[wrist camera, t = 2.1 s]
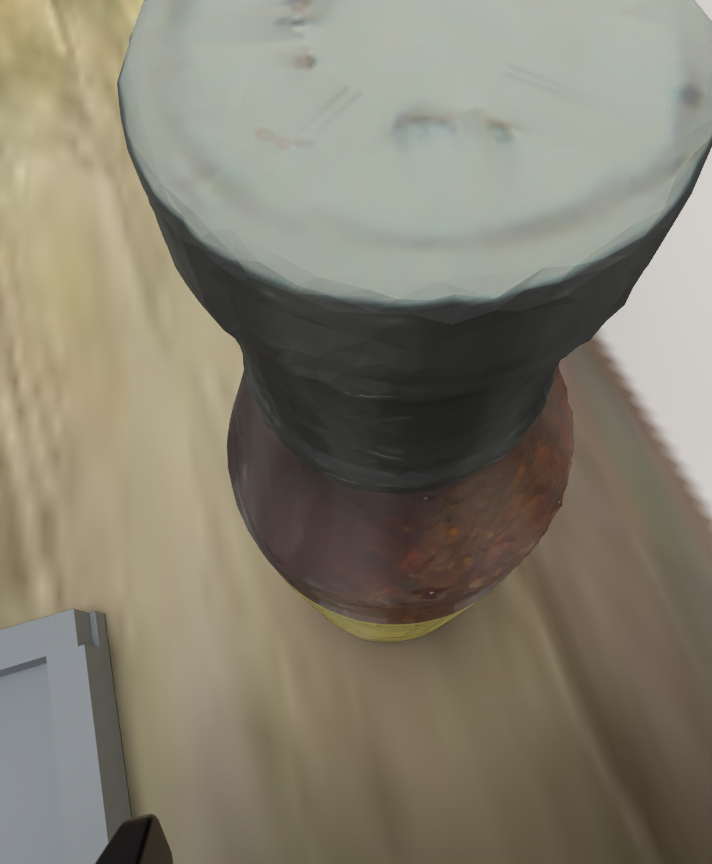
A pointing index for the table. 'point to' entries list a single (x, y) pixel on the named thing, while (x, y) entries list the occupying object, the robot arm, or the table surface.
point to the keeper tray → (59, 742)
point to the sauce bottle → (411, 258)
